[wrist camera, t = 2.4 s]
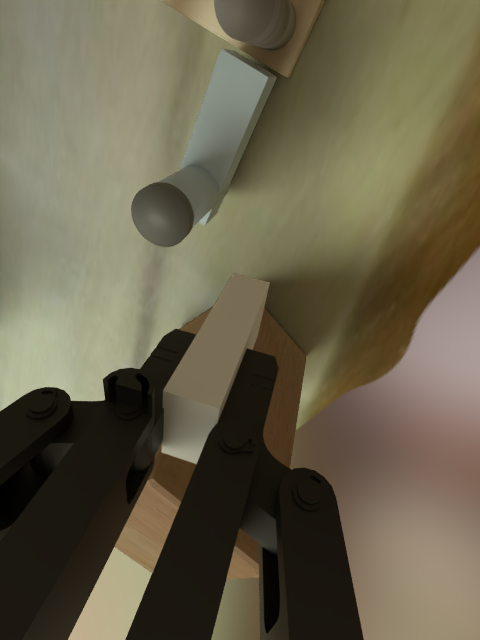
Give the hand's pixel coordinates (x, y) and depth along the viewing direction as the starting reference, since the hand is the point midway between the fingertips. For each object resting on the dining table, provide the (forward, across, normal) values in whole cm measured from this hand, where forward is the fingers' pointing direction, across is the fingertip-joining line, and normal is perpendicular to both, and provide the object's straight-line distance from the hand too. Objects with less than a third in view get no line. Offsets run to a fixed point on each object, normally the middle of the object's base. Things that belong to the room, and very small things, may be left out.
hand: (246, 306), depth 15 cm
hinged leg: (+14, -6, +3) cm, 16 cm away
